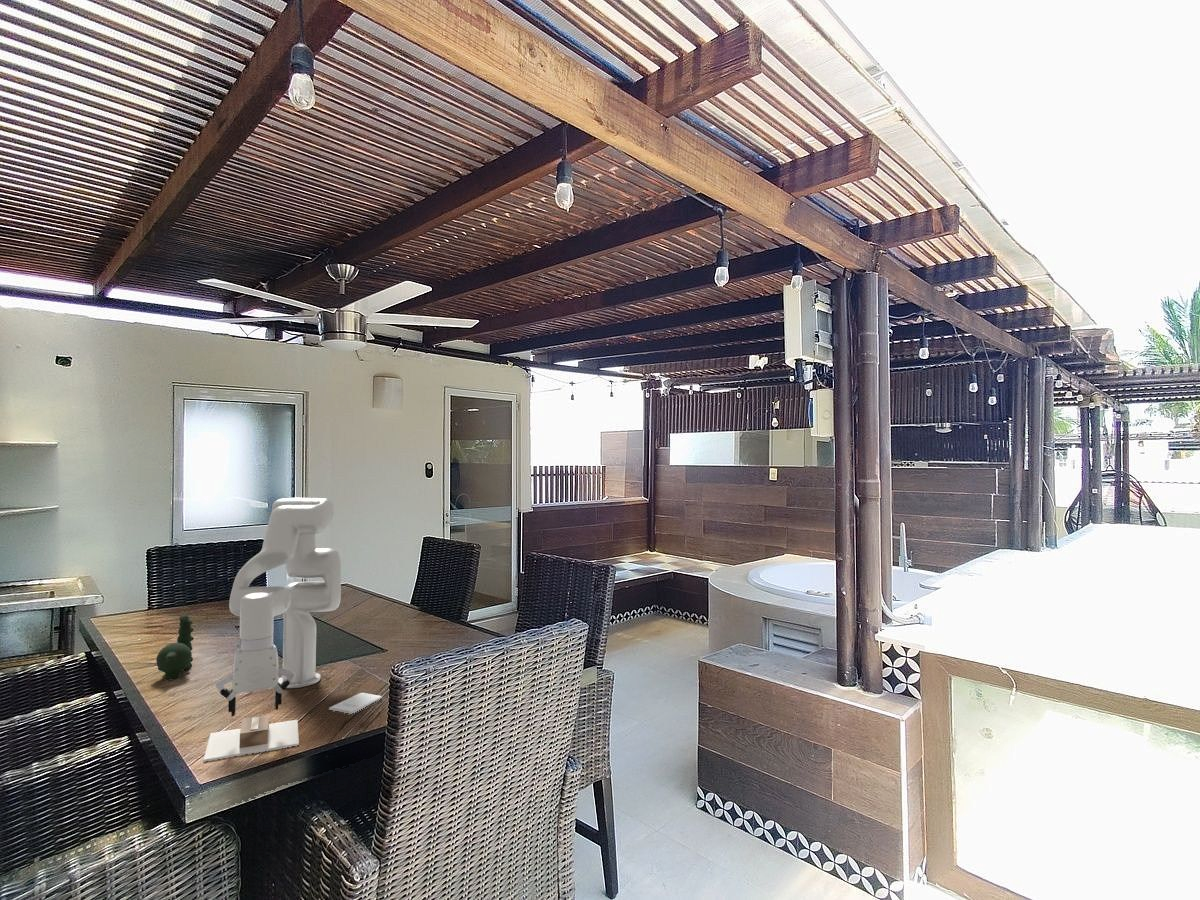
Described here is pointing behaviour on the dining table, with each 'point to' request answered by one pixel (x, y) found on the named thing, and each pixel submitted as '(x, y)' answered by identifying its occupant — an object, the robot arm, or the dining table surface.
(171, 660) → the toy figurine
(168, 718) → the dining table surface
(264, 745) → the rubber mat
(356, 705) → the external hard drive
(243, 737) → the slotted tan block
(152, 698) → the dining table surface
